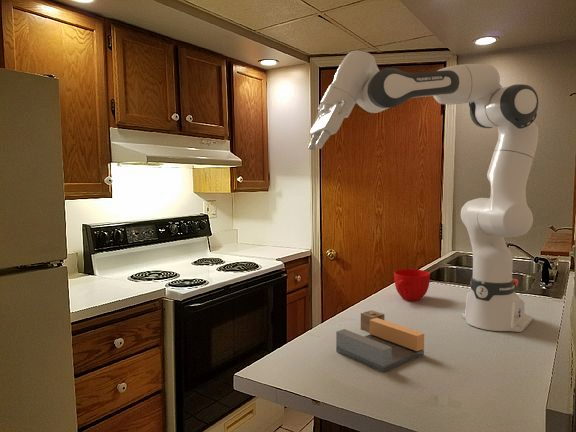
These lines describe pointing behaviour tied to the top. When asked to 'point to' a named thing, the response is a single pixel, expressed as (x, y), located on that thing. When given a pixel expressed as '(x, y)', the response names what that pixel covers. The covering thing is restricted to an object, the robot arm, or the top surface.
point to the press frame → (374, 350)
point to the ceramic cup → (411, 283)
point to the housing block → (369, 318)
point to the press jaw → (397, 334)
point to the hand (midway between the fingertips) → (314, 148)
